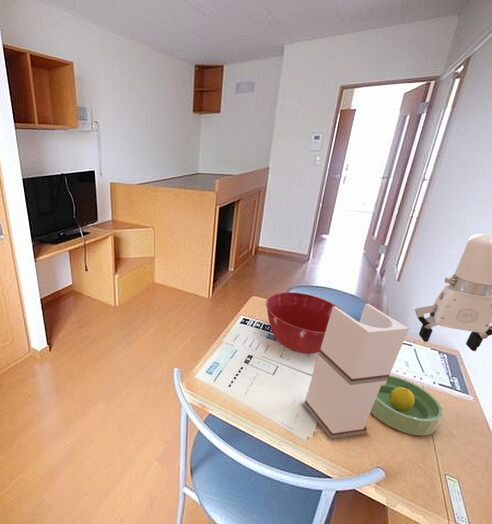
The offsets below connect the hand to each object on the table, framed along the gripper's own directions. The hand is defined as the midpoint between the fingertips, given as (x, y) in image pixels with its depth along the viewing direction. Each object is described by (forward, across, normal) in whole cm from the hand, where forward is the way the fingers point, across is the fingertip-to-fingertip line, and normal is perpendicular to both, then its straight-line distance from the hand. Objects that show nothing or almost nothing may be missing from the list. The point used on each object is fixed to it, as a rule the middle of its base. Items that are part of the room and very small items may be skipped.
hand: (446, 343), depth 80 cm
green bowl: (+26, -4, 0) cm, 26 cm away
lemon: (+26, -4, 0) cm, 26 cm away
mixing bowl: (+26, -30, +24) cm, 46 cm away
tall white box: (+26, -22, -11) cm, 36 cm away
